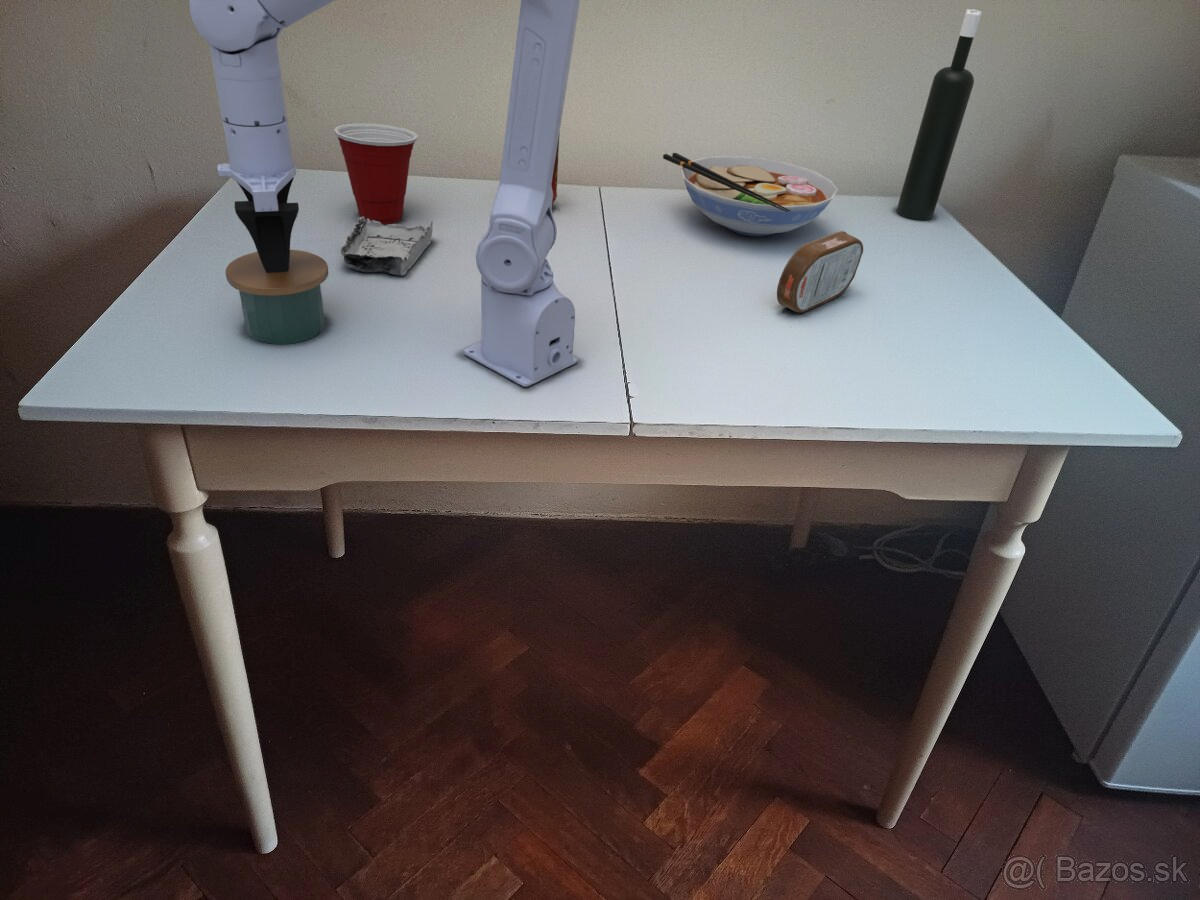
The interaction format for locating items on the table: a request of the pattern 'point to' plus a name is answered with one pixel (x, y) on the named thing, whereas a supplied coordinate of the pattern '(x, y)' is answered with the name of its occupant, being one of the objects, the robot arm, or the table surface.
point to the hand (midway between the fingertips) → (275, 256)
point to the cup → (283, 316)
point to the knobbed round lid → (277, 274)
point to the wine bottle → (939, 129)
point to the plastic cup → (377, 168)
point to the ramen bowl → (755, 192)
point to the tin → (819, 271)
